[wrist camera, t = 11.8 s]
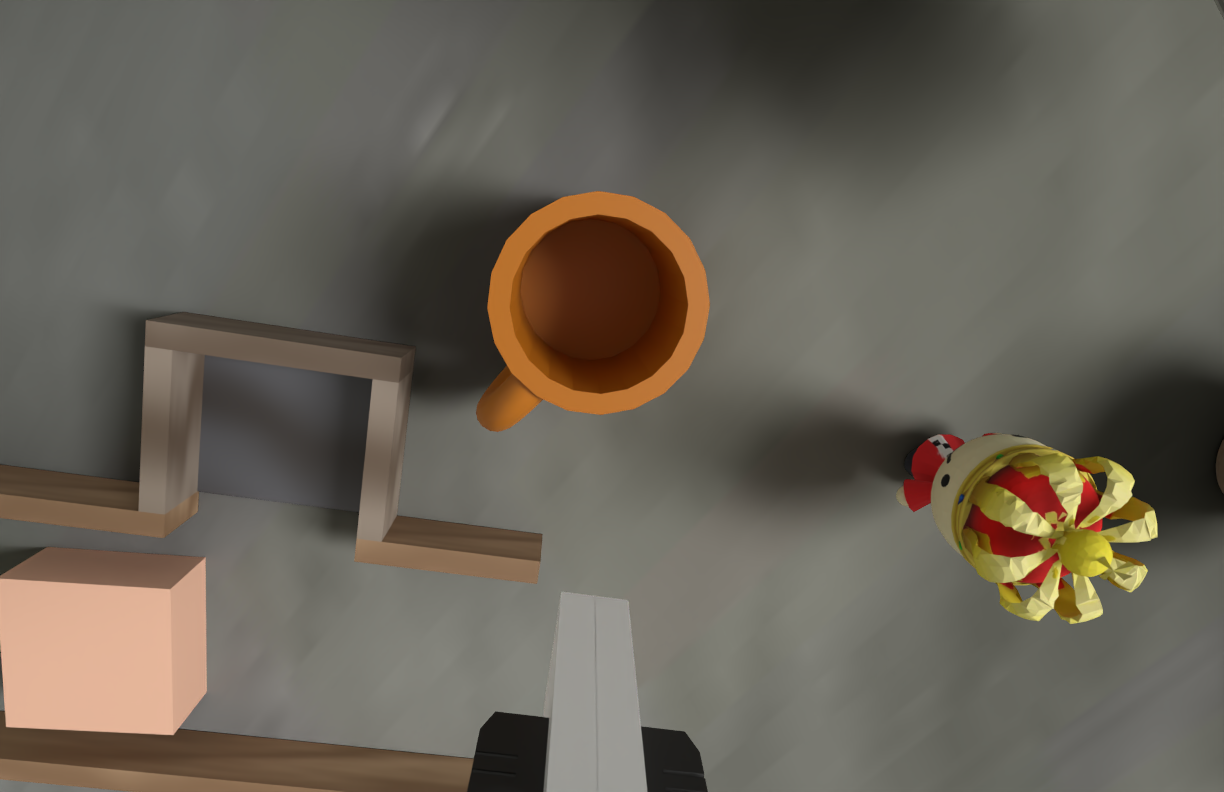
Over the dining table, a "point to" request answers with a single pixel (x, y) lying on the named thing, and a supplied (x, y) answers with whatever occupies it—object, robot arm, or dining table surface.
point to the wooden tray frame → (267, 470)
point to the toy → (1030, 518)
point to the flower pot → (1220, 467)
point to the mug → (592, 309)
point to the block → (103, 640)
